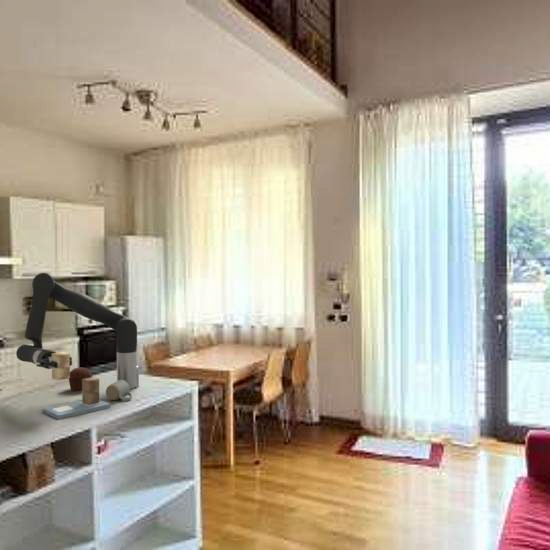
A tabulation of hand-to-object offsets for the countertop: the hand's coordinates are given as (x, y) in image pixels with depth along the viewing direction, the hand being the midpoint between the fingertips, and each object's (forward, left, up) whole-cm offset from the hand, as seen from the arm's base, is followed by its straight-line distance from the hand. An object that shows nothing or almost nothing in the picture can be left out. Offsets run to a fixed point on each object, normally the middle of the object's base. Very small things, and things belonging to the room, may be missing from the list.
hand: (63, 364), depth 212 cm
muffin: (-23, -33, -20) cm, 45 cm away
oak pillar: (0, -3, -6) cm, 7 cm away
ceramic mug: (-27, -4, -20) cm, 34 cm away
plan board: (-6, -2, -20) cm, 21 cm away
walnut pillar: (-12, -2, -18) cm, 22 cm away
